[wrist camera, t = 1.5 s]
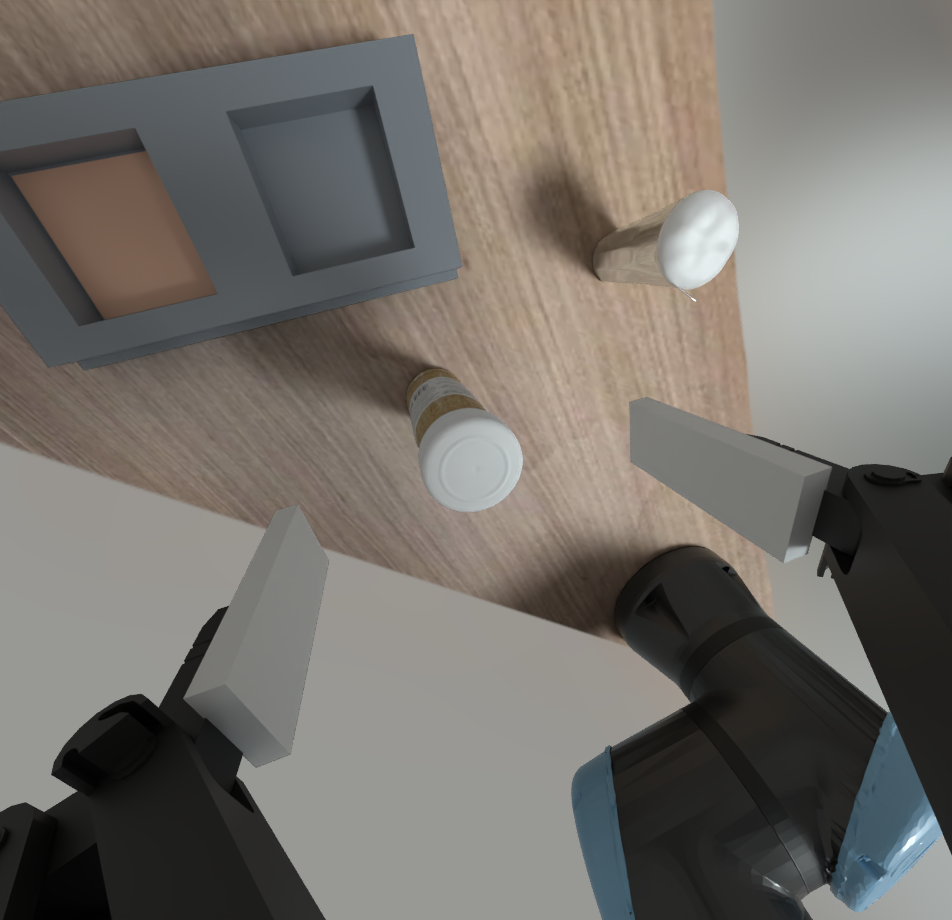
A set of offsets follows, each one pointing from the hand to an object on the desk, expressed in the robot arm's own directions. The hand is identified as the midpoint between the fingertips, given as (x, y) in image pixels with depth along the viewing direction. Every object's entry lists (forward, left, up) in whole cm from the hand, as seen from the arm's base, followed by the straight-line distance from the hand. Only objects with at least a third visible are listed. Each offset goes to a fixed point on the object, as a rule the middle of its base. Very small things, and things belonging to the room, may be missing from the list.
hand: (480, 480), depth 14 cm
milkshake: (+6, -15, -15) cm, 22 cm away
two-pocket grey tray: (+13, +8, -15) cm, 21 cm away
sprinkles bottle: (0, 0, -15) cm, 15 cm away
